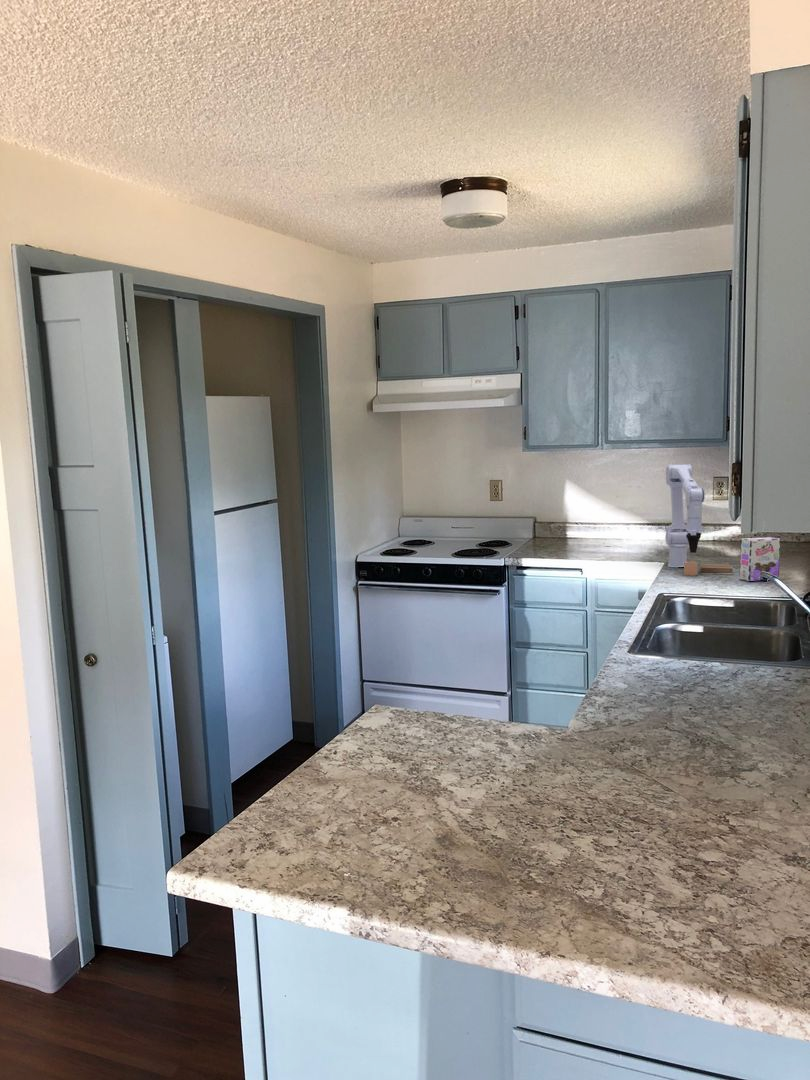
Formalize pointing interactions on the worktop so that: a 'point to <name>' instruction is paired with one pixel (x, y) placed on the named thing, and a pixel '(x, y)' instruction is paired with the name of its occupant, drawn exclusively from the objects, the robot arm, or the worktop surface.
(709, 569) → the walnut block
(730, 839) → the worktop surface
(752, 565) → the candy box
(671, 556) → the robot arm
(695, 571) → the terracotta cube
